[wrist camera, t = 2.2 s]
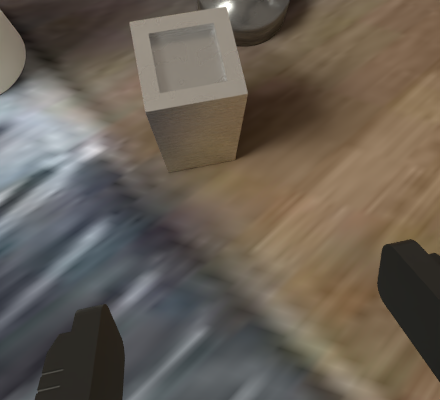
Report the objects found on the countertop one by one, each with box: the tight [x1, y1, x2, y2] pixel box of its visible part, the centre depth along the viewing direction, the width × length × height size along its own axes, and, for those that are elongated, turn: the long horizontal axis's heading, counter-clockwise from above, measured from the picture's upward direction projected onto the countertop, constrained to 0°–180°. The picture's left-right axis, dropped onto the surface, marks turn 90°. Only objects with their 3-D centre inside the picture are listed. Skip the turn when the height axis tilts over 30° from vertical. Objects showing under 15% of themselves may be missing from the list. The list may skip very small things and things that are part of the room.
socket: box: [129, 6, 248, 173], centre depth 22 cm, size 5×5×10 cm
